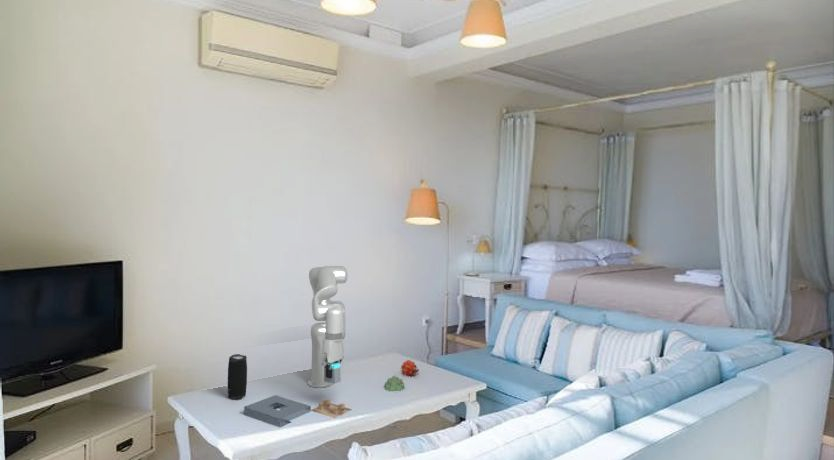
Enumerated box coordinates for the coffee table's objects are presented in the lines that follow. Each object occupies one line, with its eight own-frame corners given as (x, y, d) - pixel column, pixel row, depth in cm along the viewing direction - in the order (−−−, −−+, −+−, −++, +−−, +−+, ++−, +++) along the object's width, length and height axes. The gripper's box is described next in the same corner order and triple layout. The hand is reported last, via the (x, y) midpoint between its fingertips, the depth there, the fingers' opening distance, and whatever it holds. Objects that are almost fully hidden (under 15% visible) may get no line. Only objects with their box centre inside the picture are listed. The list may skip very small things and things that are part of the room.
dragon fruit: (405, 374, 306) (414, 383, 296) (394, 366, 302) (404, 376, 292) (414, 361, 307) (424, 370, 297) (404, 354, 303) (413, 363, 293)
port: (275, 402, 252) (275, 395, 252) (310, 413, 240) (310, 406, 240) (244, 414, 237) (244, 406, 237) (280, 427, 225) (280, 418, 225)
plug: (330, 379, 246) (330, 361, 246) (340, 381, 243) (340, 363, 243) (324, 381, 243) (324, 363, 242) (334, 383, 240) (334, 365, 239)
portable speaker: (230, 401, 251) (230, 360, 250) (225, 395, 259) (226, 354, 258) (248, 398, 255) (249, 357, 254) (243, 392, 263) (244, 352, 262)
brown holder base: (328, 404, 252) (328, 396, 252) (352, 411, 245) (352, 402, 244) (310, 412, 242) (310, 403, 242) (334, 420, 234) (334, 411, 234)
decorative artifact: (394, 384, 284) (380, 388, 277) (395, 370, 284) (380, 374, 277) (408, 389, 277) (393, 393, 270) (408, 375, 277) (394, 379, 270)
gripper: (339, 330, 251) (338, 369, 252) (314, 338, 236) (313, 379, 238) (352, 333, 247) (350, 373, 248) (327, 341, 232) (326, 383, 234)
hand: (332, 375), depth 243 cm, fingers closed on plug, 4 cm apart
